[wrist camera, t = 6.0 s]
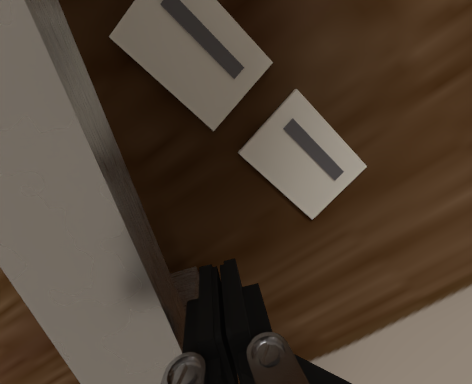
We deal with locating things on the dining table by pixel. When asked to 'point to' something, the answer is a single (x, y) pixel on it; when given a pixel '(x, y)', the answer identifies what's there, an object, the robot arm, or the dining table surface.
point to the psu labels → (237, 94)
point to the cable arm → (78, 213)
